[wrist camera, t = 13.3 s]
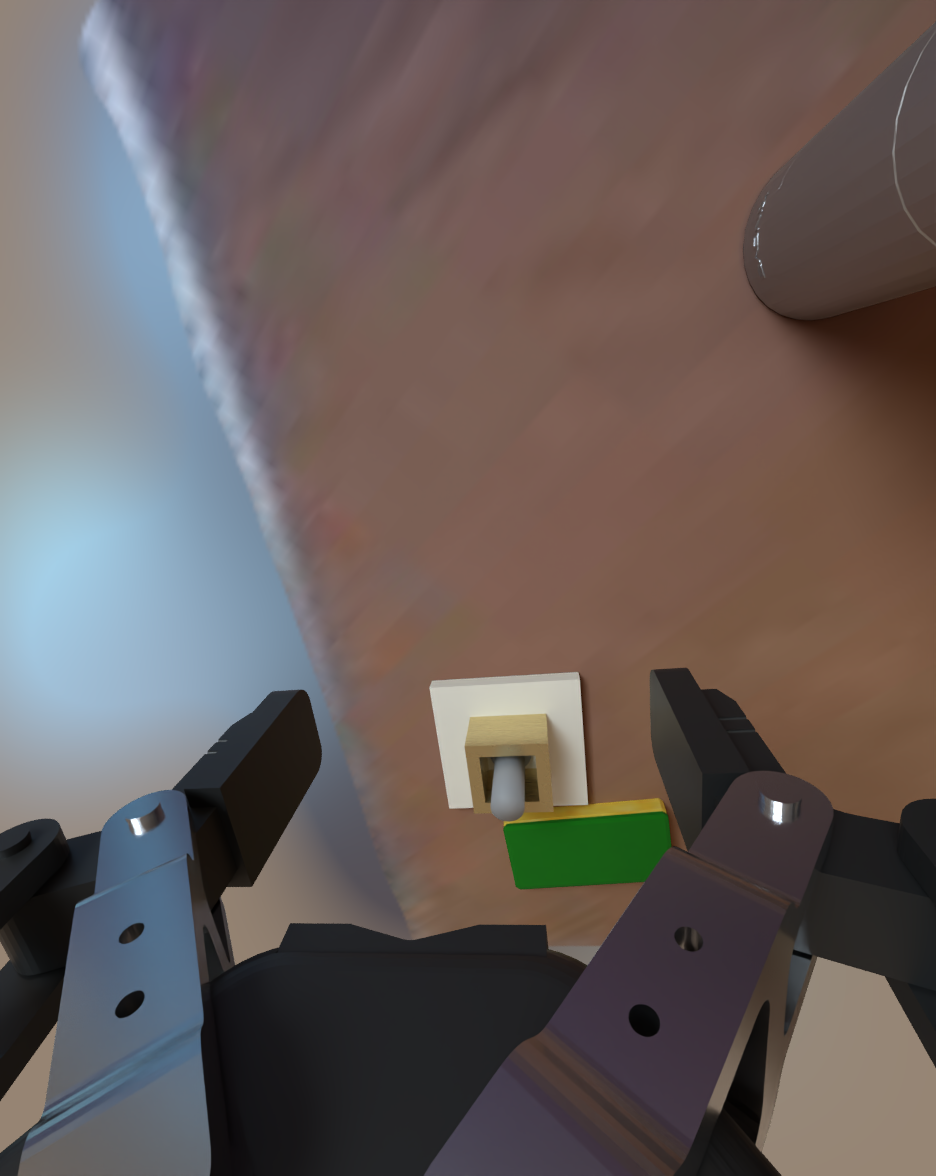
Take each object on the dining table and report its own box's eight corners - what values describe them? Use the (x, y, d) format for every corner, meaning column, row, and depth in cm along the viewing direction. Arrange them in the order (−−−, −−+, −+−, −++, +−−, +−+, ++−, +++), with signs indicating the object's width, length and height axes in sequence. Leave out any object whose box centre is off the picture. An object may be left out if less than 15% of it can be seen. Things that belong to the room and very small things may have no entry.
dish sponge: (503, 808, 48) (502, 827, 46) (661, 794, 46) (668, 814, 44) (517, 868, 50) (516, 890, 48) (668, 858, 48) (675, 881, 46)
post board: (578, 672, 43) (589, 731, 35) (586, 795, 46) (598, 873, 39) (432, 680, 44) (411, 738, 36) (451, 798, 48) (436, 874, 40)
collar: (546, 713, 43) (547, 743, 39) (551, 777, 45) (553, 812, 41) (470, 717, 44) (464, 746, 40) (478, 779, 45) (474, 813, 42)
